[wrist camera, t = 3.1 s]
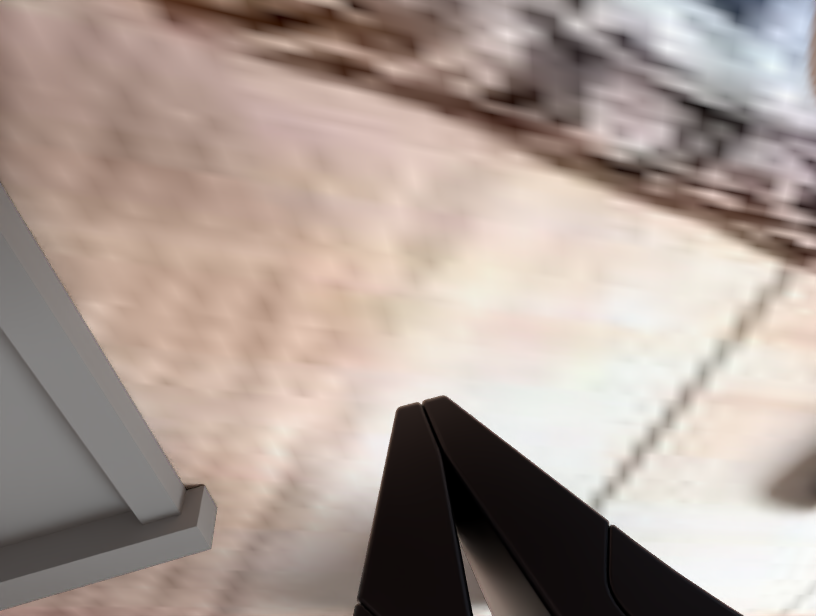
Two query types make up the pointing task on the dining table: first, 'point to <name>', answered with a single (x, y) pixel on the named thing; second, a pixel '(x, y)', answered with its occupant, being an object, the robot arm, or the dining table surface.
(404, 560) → the robot arm
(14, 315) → the tray
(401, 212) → the dining table surface
